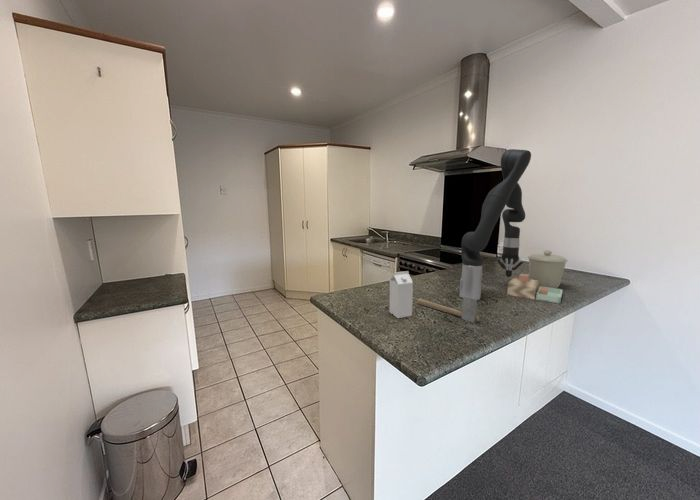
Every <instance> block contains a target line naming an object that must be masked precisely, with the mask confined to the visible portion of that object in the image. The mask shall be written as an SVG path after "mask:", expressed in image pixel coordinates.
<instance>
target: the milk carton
mask: <svg viewBox="0 0 700 500" xmlns="http://www.w3.org/2000/svg"><path fill="white" fill-rule="evenodd" d="M409 273H410V272H409V270H406V271H396V272H393V274H392V275H393V276H391V278H390V279H389V313H390V314H391V315H392V314H393V315H392V316H394V317H395V318H396V319H401V318H408V317H412V316H413V295H414V292H413V291H414V290H413V288H414V285H413V284H414V282H413V279H412V277H411V276H410V274H409Z"/></svg>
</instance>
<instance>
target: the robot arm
mask: <svg viewBox="0 0 700 500" xmlns="http://www.w3.org/2000/svg"><path fill="white" fill-rule="evenodd" d="M500 157H501V158H500V169H501V174H502V178H503V180H502V181H501V182H500V183H498V184H496V185H495V186H494V187H492V189H491V190H490V191H489V192H488V194H487V195H486V197H485V199H484V201H483V203H482V207H481V215H480V220H479V223H478V225H477V226H476V228H475V230H474V231H468V232H466V233H465V234H464V235H463V236H462V238H461V244H460V246H461V249H460V251H461V253H460V256H461V257H460V258H461V260H462V267H461V278H460V280H459V298H462V299H463V297H467V298H471V299H476V300H477V301H479V300H480V299H482V298H481V296H482V281H483V269H484V268H483V264H484V259H483V258H482V256H481V253H480V252H482V251H484V249H486V247H487V246H488V243H489V241H490V238H491V236H492V232H493V230H494V229H495V226H496V224H497V222H498V221H499V218H500V216H501V215H502V216H501V217H502V221H503V224H504V225H503V226H504V238H503V243H502V244H503V245H502V255H501V256H500V258H498V259H496V262H498V263H497V264H499V266H500V267H501V268H502V269H503V270H505V276H506V278H511V277H512V275H513V271H516V270H517V269H518V268H519V267H520V266H521V265H523V264H524V261H523V260H521V259H520V256H519V251H520V246H521V245H520V233H521V229H520V227H518V226H514V225H511V223H523V222H524V220H525V219H526V212H525V209H524V206H523V203H522V202H523V198H522V197H523V192H522V188H521V186H520V183H519V181H520V179H521V177H522V176H523V174H524V173H525V171H526V169H527V168H528V167H529V164H530V162H531V159H532V153H531V151H530V150H527V149H517V148H516V149H515V148H513V149H512V148H510V149H506V150H504V152H503V153H502V155H501V156H500ZM505 207H506V209H505ZM516 263H517V264H516ZM515 264H516V265H515Z"/></svg>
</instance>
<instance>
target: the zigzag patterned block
mask: <svg viewBox="0 0 700 500" xmlns="http://www.w3.org/2000/svg"><path fill="white" fill-rule="evenodd" d="M538 289H539V280H531V279H530V278H529V281H528V282H525V281H519V277H516V276H515V277H514V276H513V277H512V278H511V280H510V281H508V283H507V290H506V291H507V293H506V295H507V296H513V297H518V298H524V297H525V299H529V298H530V300H536V294H537V292H538Z"/></svg>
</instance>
